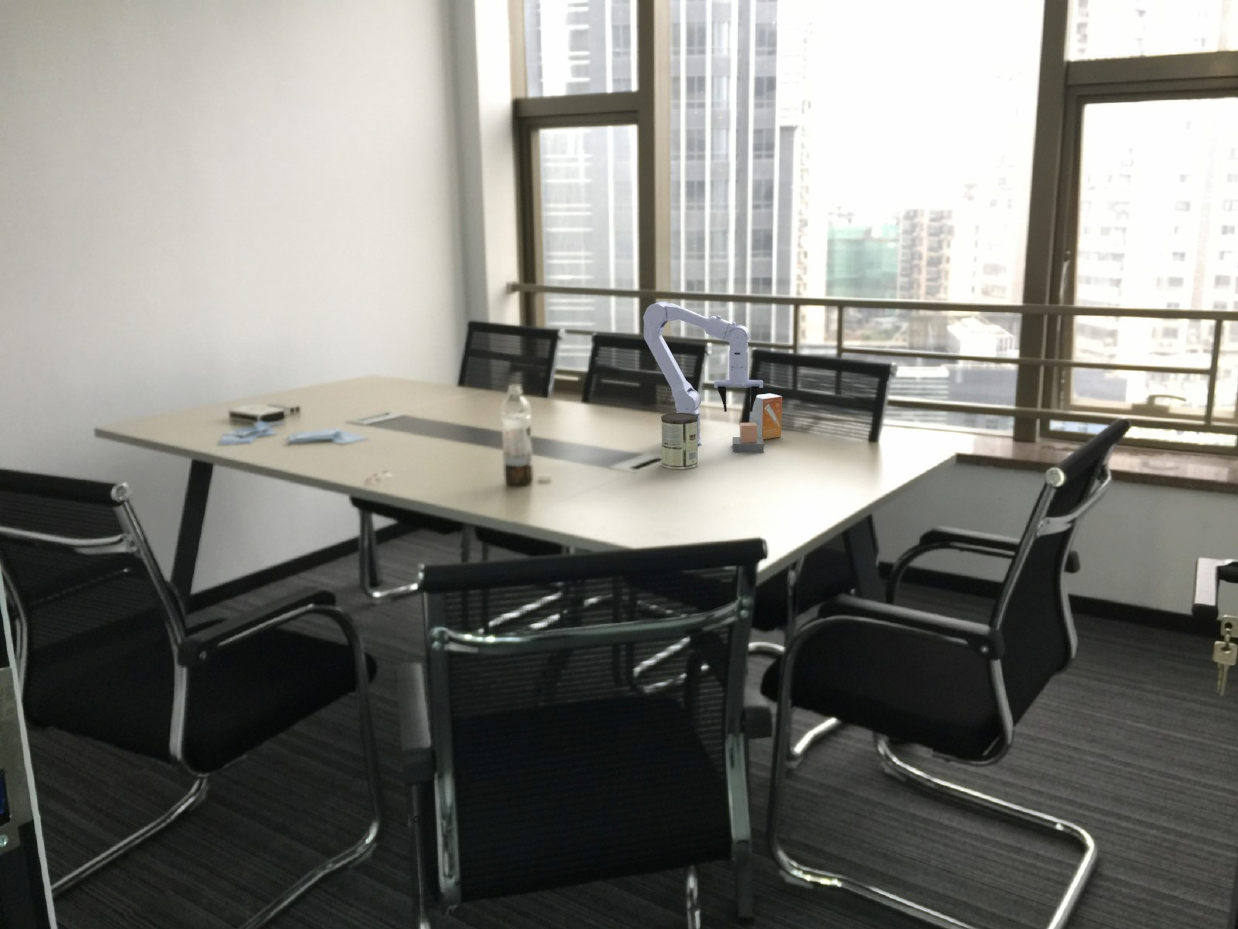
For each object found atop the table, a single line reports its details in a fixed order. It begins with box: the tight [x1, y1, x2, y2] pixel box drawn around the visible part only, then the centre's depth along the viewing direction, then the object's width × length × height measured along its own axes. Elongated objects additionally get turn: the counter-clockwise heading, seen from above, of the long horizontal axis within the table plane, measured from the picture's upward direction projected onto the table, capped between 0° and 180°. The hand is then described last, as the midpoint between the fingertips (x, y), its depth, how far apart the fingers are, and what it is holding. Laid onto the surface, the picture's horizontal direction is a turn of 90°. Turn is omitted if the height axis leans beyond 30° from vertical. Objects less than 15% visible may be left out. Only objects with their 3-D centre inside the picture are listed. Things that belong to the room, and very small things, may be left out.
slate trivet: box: [732, 436, 765, 453], centre depth 320 cm, size 9×9×3 cm
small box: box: [749, 393, 783, 440], centre depth 333 cm, size 8×6×13 cm
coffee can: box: [660, 412, 699, 470], centre depth 300 cm, size 10×10×14 cm
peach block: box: [739, 422, 757, 443], centre depth 318 cm, size 4×4×5 cm
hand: (738, 411), depth 322 cm, fingers open, 7 cm apart
